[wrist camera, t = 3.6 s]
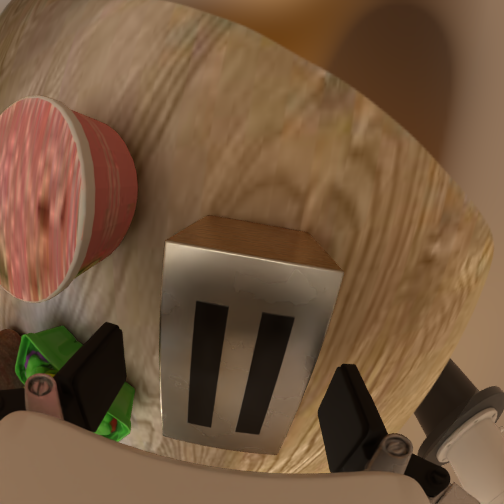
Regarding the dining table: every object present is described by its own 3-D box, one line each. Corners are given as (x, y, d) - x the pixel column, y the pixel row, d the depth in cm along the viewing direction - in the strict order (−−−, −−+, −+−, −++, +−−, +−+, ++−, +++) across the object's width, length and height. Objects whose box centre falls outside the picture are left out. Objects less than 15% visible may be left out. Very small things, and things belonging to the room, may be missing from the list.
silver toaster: (308, 232, 17) (345, 272, 9) (271, 382, 20) (273, 464, 12) (207, 214, 17) (163, 240, 9) (190, 368, 20) (162, 445, 12)
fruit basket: (40, 349, 21) (-22, 408, 10) (60, 297, 19) (-29, 361, 8) (121, 420, 22) (81, 498, 11) (159, 384, 20) (112, 488, 10)
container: (43, 247, 18) (-26, 275, 10) (56, 120, 15) (-17, 107, 8) (147, 276, 18) (85, 331, 10) (170, 122, 16) (108, 83, 8)
